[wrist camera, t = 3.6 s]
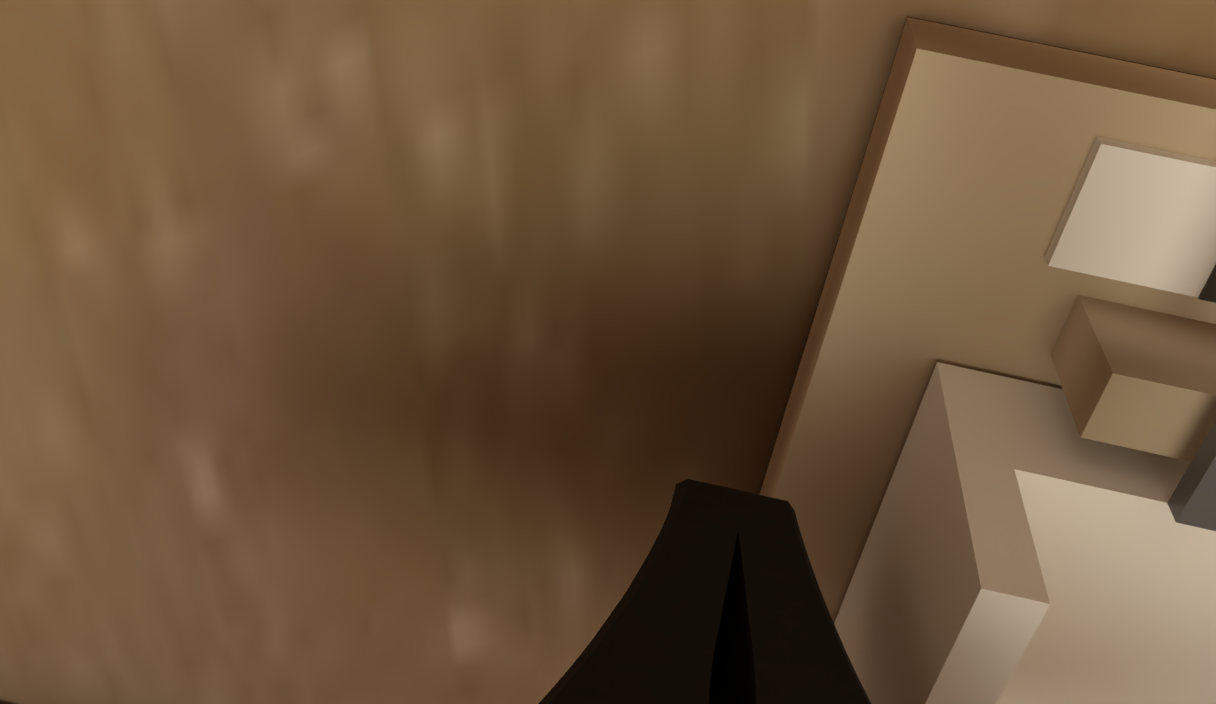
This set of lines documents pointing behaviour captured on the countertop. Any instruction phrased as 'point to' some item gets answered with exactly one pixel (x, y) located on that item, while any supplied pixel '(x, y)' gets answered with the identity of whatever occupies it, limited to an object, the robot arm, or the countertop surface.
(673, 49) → the countertop surface
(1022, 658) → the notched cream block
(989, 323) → the linear slide rail
